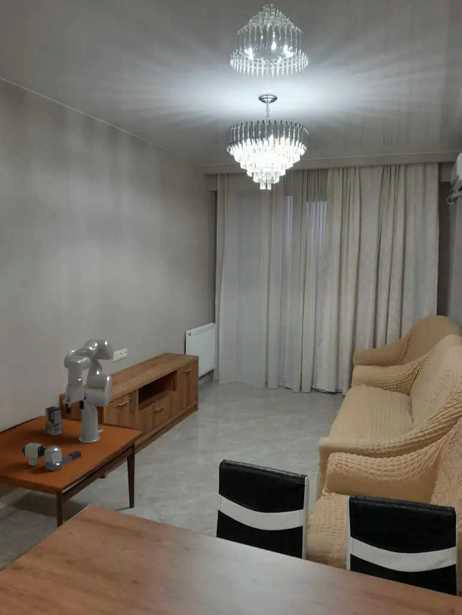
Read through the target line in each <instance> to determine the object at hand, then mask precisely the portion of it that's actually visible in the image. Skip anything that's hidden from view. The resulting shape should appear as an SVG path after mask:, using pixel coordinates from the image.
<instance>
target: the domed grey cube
mask: <svg viewBox="0 0 462 615" xmlns="http://www.w3.org/2000/svg"><path fill="white" fill-rule="evenodd" d="M44 452H45V455H44V460H45V462H46V463H47V464H50V465H53V466H54V465H55V464H57V463H59V462H60V461H62V457H63V453H62V448H60V446H57V445H51V446H48V447H47V448H46V450H45V451H44ZM45 462H44V463H45Z"/></svg>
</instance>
